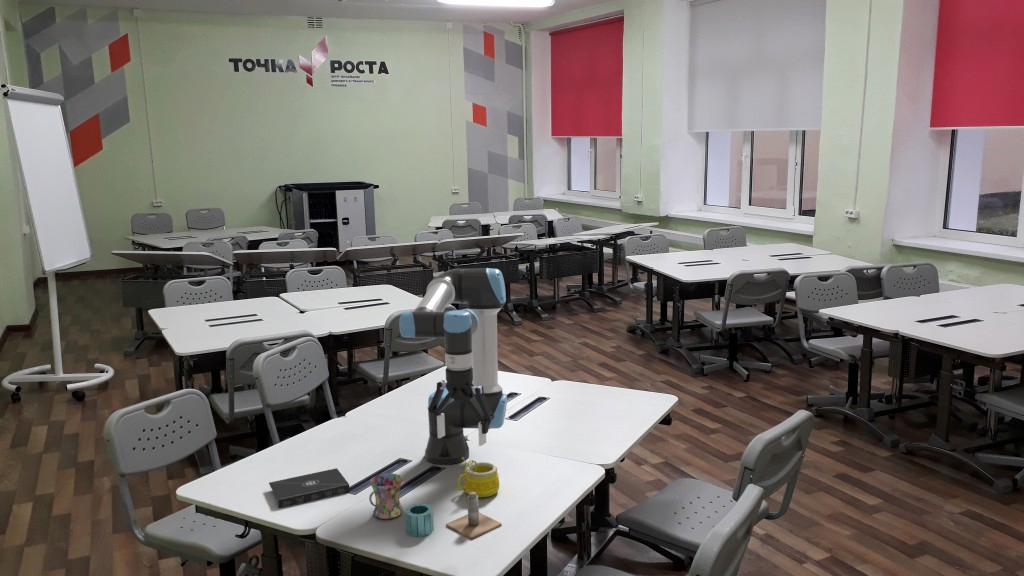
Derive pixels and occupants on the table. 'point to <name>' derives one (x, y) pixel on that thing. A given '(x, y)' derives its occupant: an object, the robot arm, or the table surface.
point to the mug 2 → (480, 479)
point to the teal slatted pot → (419, 520)
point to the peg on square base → (473, 520)
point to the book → (309, 487)
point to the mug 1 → (386, 495)
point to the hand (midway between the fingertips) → (461, 440)
